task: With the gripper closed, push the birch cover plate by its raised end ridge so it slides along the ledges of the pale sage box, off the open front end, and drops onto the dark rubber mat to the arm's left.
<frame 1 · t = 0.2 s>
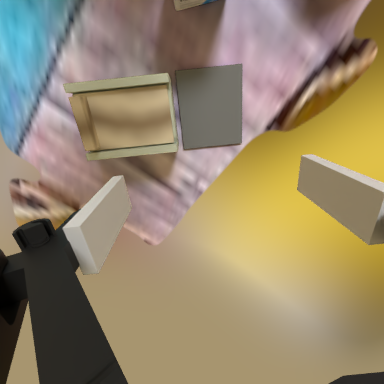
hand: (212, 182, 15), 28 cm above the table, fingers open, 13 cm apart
cover plate: (127, 119, 34), point 5 cm above the table, touching sage box
rubber mat: (210, 109, 38), on the table
sage box: (134, 117, 39), on the table
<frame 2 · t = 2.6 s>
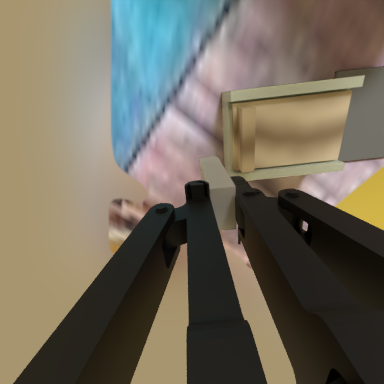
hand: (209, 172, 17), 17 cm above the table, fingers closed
cover plate: (285, 132, 28), point 5 cm above the table, touching sage box
rubber mat: (364, 117, 32), on the table
sage box: (271, 127, 32), on the table
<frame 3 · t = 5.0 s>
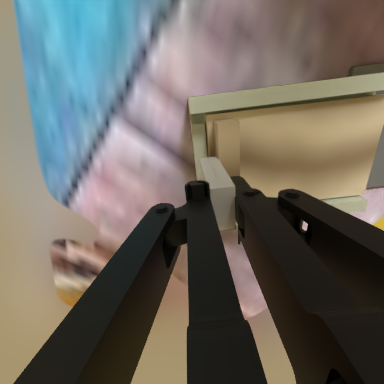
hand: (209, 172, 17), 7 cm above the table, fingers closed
cover plate: (286, 155, 19), point 5 cm above the table, touching gripper
sage box: (261, 146, 23), on the table
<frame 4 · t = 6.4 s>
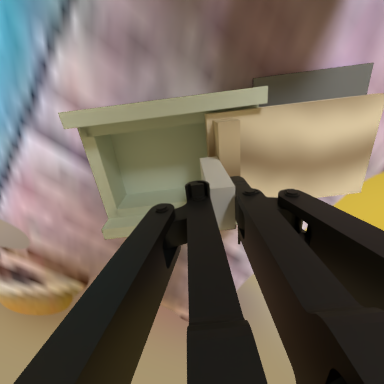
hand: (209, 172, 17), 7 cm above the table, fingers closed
cover plate: (285, 154, 19), point 5 cm above the table, touching gripper
rubber mat: (303, 139, 23), on the table
sage box: (177, 155, 24), on the table
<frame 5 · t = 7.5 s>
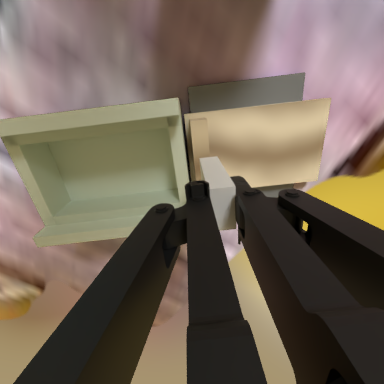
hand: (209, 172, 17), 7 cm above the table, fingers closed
cover plate: (252, 148, 23), on the table, touching rubber mat
rubber mat: (245, 147, 23), on the table
sage box: (120, 162, 24), on the table
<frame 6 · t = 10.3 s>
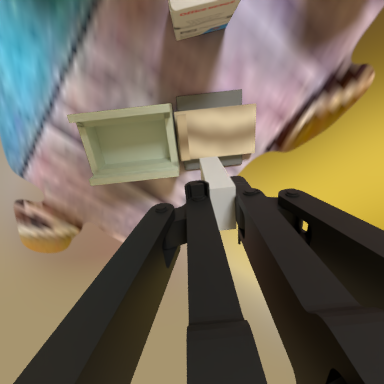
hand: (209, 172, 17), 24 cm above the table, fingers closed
cover plate: (215, 132, 39), resting on rubber mat
rubber mat: (211, 132, 39), on the table
ink box: (197, 18, 32), on the table
sage box: (136, 140, 39), on the table
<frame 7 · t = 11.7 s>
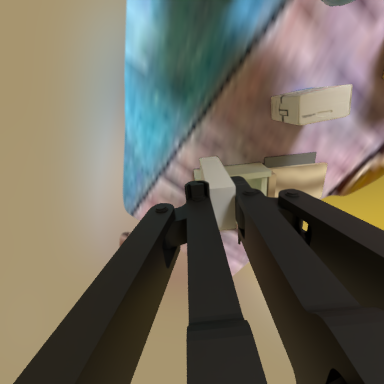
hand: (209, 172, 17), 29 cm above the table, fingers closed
cover plate: (290, 182, 49), resting on rubber mat
rubber mat: (287, 182, 50), on the table
ink box: (289, 104, 42), on the table
sage box: (227, 188, 50), on the table
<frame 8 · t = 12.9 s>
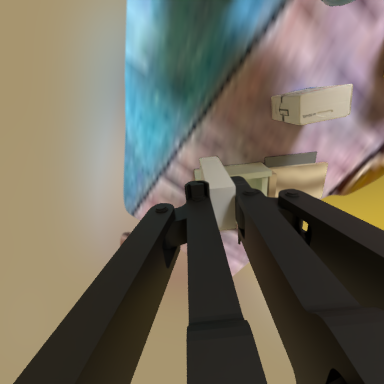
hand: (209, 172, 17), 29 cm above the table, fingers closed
cover plate: (291, 182, 49), resting on rubber mat
rubber mat: (287, 182, 50), on the table
ink box: (290, 104, 42), on the table
sage box: (227, 188, 50), on the table
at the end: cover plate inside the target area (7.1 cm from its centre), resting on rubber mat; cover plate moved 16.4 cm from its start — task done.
